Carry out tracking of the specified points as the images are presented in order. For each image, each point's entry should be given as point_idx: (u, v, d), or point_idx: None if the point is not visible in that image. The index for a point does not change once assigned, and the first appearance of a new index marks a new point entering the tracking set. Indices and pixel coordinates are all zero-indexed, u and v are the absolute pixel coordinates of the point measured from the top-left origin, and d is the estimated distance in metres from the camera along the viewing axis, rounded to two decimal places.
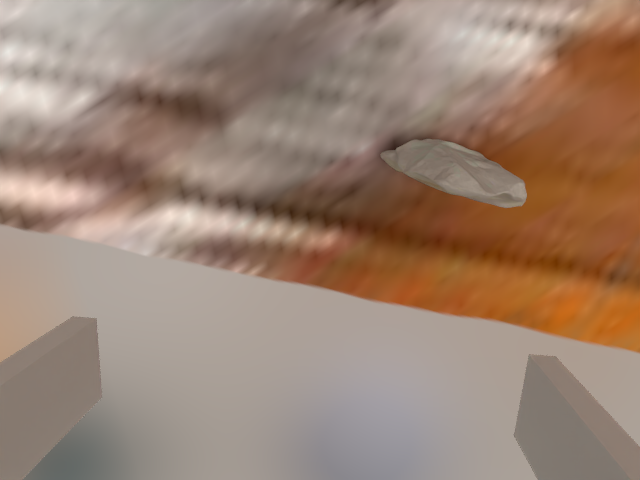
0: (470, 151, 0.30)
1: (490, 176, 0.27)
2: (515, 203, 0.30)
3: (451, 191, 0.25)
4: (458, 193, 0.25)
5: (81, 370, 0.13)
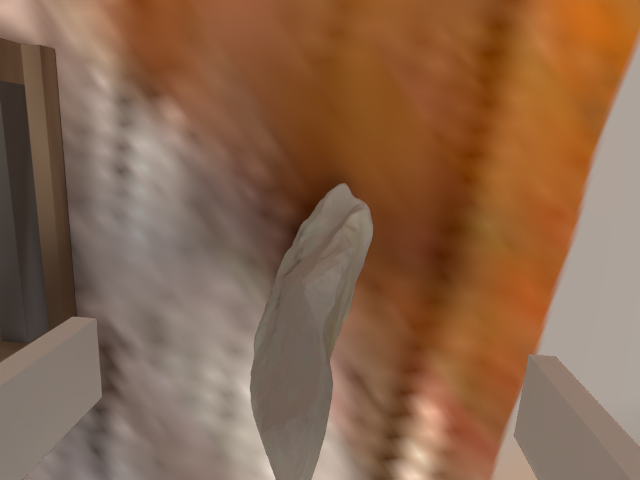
0: (271, 302, 0.17)
1: (294, 343, 0.13)
2: (363, 226, 0.16)
3: (310, 475, 0.12)
4: (315, 458, 0.12)
5: (81, 370, 0.13)
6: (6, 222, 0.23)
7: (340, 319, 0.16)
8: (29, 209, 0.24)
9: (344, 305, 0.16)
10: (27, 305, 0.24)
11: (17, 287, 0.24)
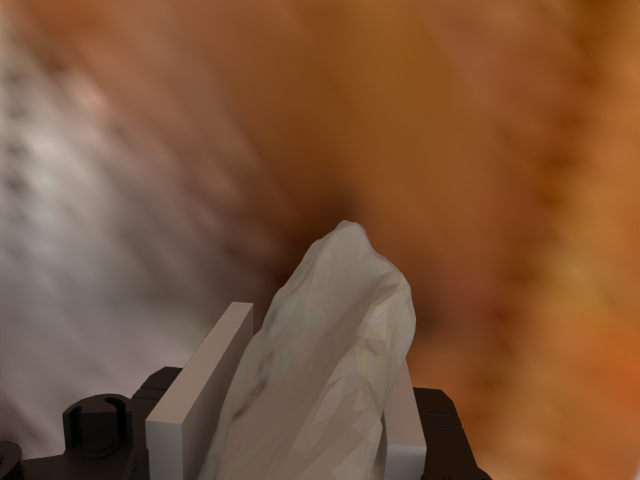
0: (209, 462, 0.09)
1: None
2: (397, 326, 0.07)
3: None
4: None
5: None
6: None
7: None
8: None
9: None
10: None
11: None
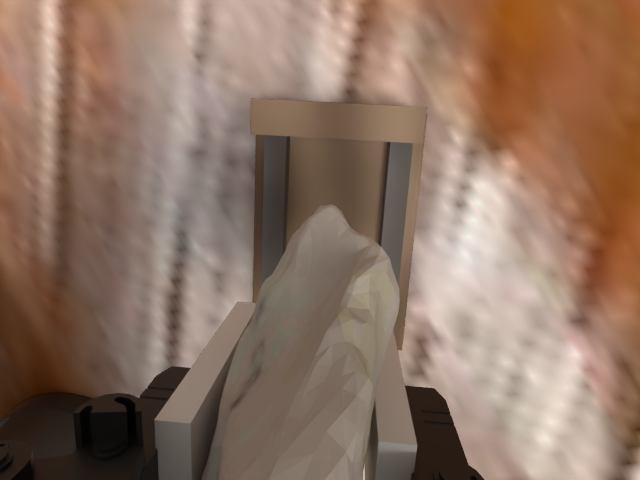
0: (213, 456, 0.09)
1: None
2: (381, 296, 0.07)
3: None
4: None
5: None
6: (396, 245, 0.30)
7: None
8: None
9: None
10: None
11: None
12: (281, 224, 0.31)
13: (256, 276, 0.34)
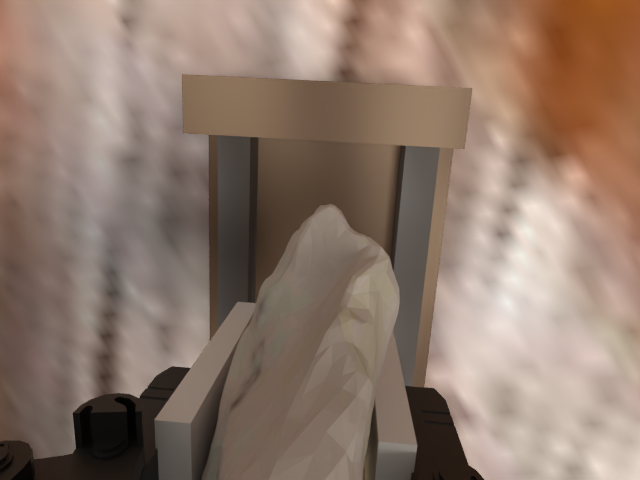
0: (213, 456, 0.09)
1: None
2: (381, 296, 0.07)
3: None
4: None
5: None
6: (414, 296, 0.21)
7: None
8: None
9: None
10: (411, 382, 0.22)
11: (410, 365, 0.22)
12: (245, 265, 0.21)
13: (214, 333, 0.24)
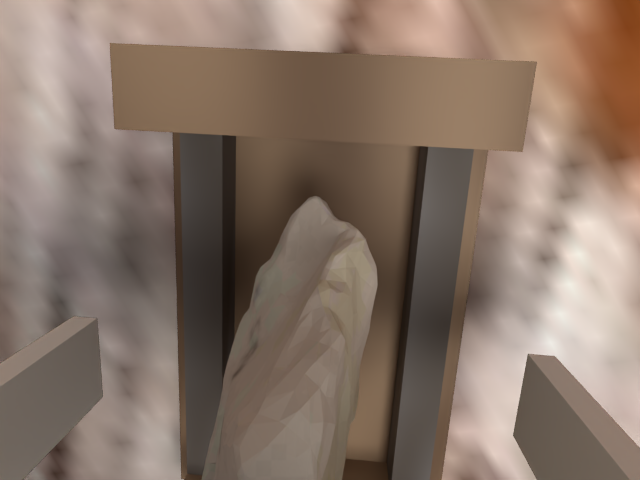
0: (218, 423, 0.10)
1: None
2: (358, 272, 0.09)
3: None
4: None
5: (82, 370, 0.13)
6: (436, 342, 0.16)
7: (342, 453, 0.08)
8: None
9: (345, 427, 0.08)
10: (431, 447, 0.17)
11: (431, 428, 0.17)
12: (218, 300, 0.16)
13: (184, 380, 0.19)
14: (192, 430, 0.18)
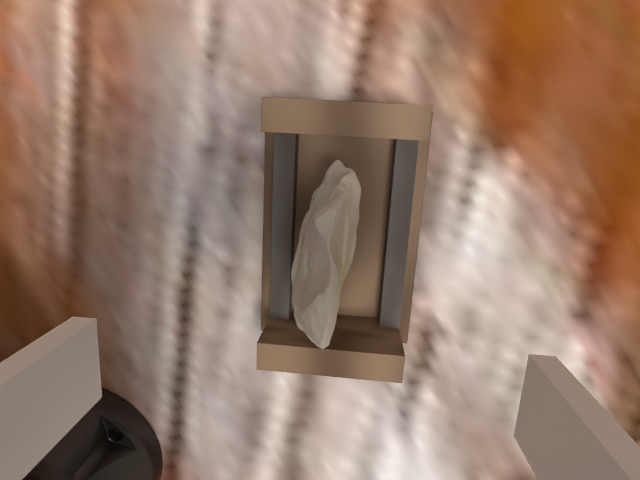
0: (298, 247, 0.25)
1: (314, 258, 0.21)
2: (352, 184, 0.24)
3: (332, 328, 0.20)
4: (334, 318, 0.20)
5: (81, 370, 0.13)
6: (402, 240, 0.31)
7: (345, 248, 0.24)
8: None
9: (346, 238, 0.24)
10: (401, 300, 0.33)
11: (400, 287, 0.32)
12: (290, 219, 0.32)
13: (265, 270, 0.35)
14: (273, 292, 0.33)
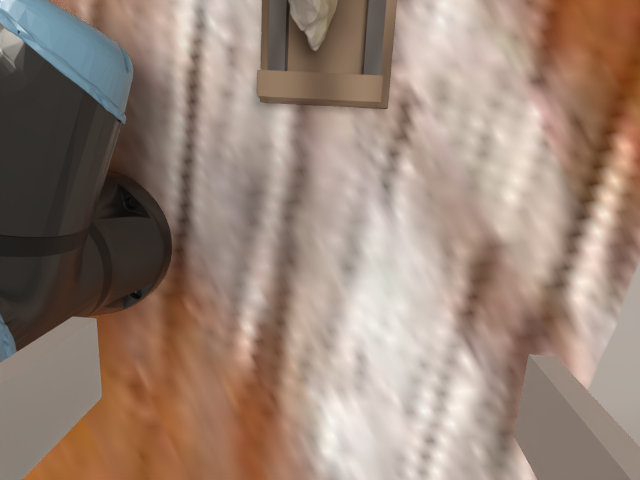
0: None
1: None
2: None
3: None
4: None
5: (81, 370, 0.13)
6: None
7: None
8: None
9: None
10: (381, 56, 0.38)
11: (380, 41, 0.37)
12: None
13: (264, 42, 0.40)
14: (271, 51, 0.38)
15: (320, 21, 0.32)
